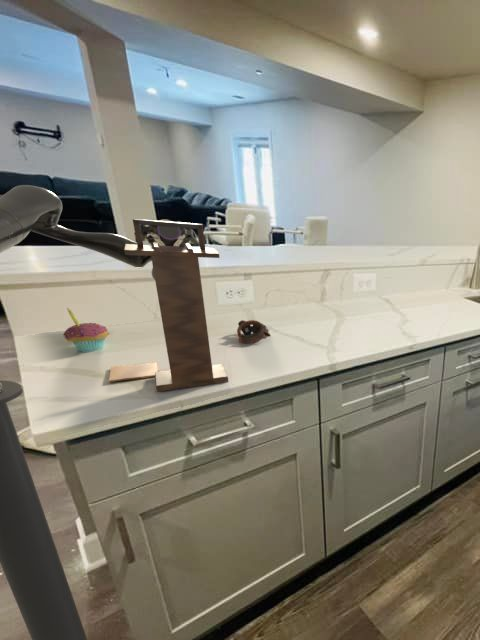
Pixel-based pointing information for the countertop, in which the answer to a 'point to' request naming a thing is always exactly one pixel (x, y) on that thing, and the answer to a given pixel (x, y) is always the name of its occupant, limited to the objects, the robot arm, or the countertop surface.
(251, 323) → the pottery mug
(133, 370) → the cork coaster
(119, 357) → the countertop surface
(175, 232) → the plum cup
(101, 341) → the cupcake
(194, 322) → the stand
